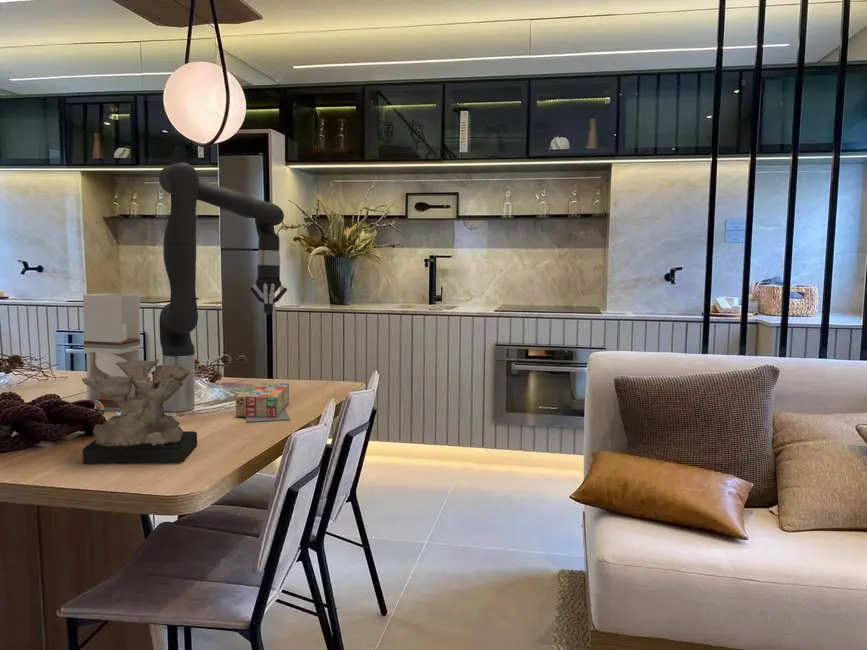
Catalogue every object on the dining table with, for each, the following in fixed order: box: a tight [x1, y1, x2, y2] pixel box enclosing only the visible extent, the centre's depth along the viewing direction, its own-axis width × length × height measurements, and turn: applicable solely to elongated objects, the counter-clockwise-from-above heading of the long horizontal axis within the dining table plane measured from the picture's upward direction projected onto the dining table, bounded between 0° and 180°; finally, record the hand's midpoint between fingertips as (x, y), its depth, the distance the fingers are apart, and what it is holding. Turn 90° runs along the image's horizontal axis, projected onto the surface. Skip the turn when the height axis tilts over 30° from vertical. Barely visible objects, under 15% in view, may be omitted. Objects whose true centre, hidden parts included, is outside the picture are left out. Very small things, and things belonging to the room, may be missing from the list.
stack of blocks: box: [235, 382, 290, 417], centre depth 188 cm, size 21×6×12 cm
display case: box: [82, 293, 141, 412], centre depth 184 cm, size 11×11×35 cm
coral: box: [81, 358, 198, 465], centre depth 143 cm, size 25×20×22 cm
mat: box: [244, 407, 291, 424], centre depth 186 cm, size 12×24×1 cm, turn 21°
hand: (268, 314), depth 204 cm, fingers closed
